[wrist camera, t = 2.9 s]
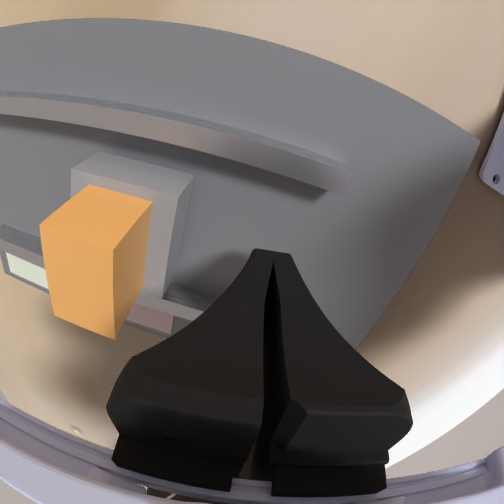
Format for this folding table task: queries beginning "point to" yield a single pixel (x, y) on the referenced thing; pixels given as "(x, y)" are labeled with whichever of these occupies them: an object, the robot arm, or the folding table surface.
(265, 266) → the robot arm
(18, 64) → the board
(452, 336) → the folding table surface
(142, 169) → the handle
